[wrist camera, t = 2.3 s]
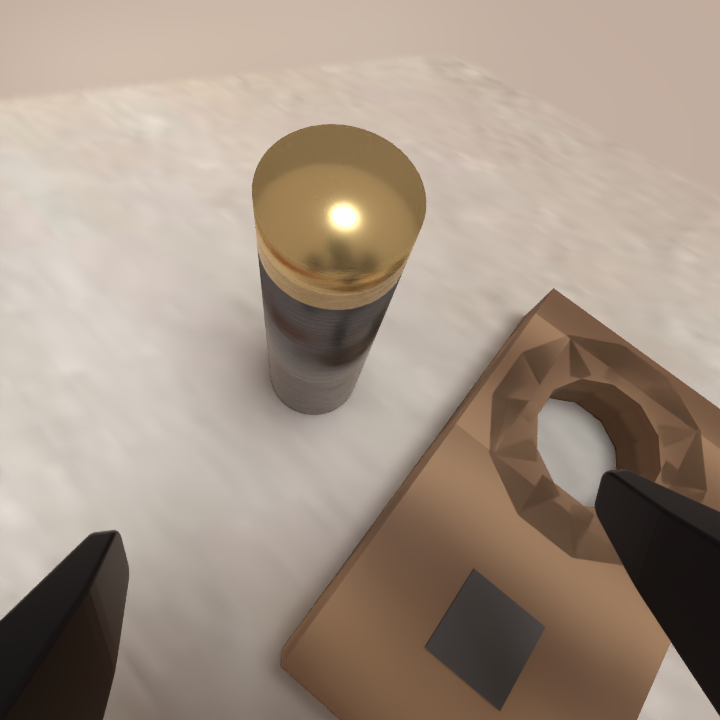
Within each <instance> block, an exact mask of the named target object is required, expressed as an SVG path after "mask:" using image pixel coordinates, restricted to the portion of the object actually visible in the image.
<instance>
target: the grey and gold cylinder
mask: <svg viewBox="0 0 720 720" xmlns="http://www.w3.org/2000/svg"><path fill="white" fill-rule="evenodd" d="M252 198H253V208H254V218H255V228H256V238H257V248H258V257H259V267H260V277H261V287H262V297H263V307H264V316H265V326H266V336H267V346H268V356H269V366H270V376H271V382H272V386H273V388H274V391H275V392H276V394H277V396H278V397H279V398H280V400H281V401H282V402H283V403H284V404H285V405H287V406H288V407H290V408H291V409H293V410H295V411H298V412H300V413H304V414H311V415H316V414H324V413H327V412H330V411H333V410H335V409H336V408H338V407H340V406H341V405H342V404H343V403H344V402H345V401H346V400H347V399H348V398H349V396H350V395H351V393H352V391H353V389H354V387H355V384H356V382H357V379H358V377H359V375H360V372H361V370H362V368H363V365H364V363H365V360H366V358H367V356H368V353H369V351H370V349H371V346H372V344H373V341H374V339H375V337H376V334H377V332H378V329H379V327H380V325H381V322H382V320H383V318H384V315H385V313H386V310H387V308H388V306H389V303H390V301H391V298H392V296H393V294H394V291H395V289H396V287H397V284H398V282H399V279H400V277H401V275H402V272H403V270H404V268H405V265H406V263H407V260H408V258H409V256H410V253H411V251H412V248H413V246H414V244H415V241H416V239H417V237H418V234H419V232H420V229H421V227H422V224H423V221H424V218H425V213H426V195H425V189H424V186H423V182H422V180H421V178H420V175H419V173H418V171H417V170H416V168H415V166H414V165H413V164H412V162H411V161H410V160H409V159H408V157H407V156H406V155H405V154H404V153H403V152H402V151H401V150H400V149H398V148H397V147H396V146H395V145H393V144H392V143H391V142H389V141H387V140H386V139H384V138H382V137H380V136H378V135H376V134H374V133H372V132H369V131H367V130H364V129H360V128H357V127H352V126H346V125H335V124H328V125H317V126H311V127H307V128H303V129H300V130H297V131H295V132H292V133H290V134H288V135H287V136H285V137H283V138H281V139H280V140H279V141H277V142H276V143H275V144H274V145H273V146H272V147H271V148H269V149H268V150H267V152H266V153H265V154H264V156H263V157H262V158H261V160H260V162H259V164H258V166H257V168H256V171H255V174H254V178H253V183H252Z"/></svg>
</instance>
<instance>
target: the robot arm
mask: <svg viewBox="0 0 720 720" xmlns="http://www.w3.org/2000/svg"><path fill="white" fill-rule="evenodd" d="M595 511H596V515H597V517H598V519H599V521H600V523H601V525H602V527H603V528H604V530H605V532H606V534H607V536H608V538H609V540H610V542H611V544H612V545H613V547H614V549H615V551H616V553H617V555H618V557H619V559H620V560H621V562H622V564H623V566H624V568H625V570H626V572H627V574H628V575H629V577H630V579H631V581H632V582H633V584H634V586H635V588H636V589H637V591H638V592H639V594H640V596H641V597H642V599H643V600H644V602H645V603H646V605H647V606H648V608H649V609H650V611H651V612H652V614H653V616H654V617H655V619H656V620H657V622H658V623H659V625H660V626H661V628H662V629H663V631H664V632H665V634H666V635H667V637H668V638H669V640H670V641H671V643H672V644H673V646H674V647H675V649H676V650H677V652H678V654H679V655H680V657H681V658H682V660H683V661H684V663H685V664H686V666H687V667H688V669H689V670H690V672H691V673H692V675H693V676H694V678H695V679H696V681H697V682H698V684H699V685H700V687H701V688H702V690H703V692H704V693H705V695H706V696H707V698H708V699H709V701H710V702H711V704H712V705H713V707H714V708H715V710H716V711H717V713H718V714H719V716H720V512H719V511H717V510H715V509H713V508H710V507H708V506H706V505H704V504H702V503H699V502H697V501H695V500H693V499H691V498H688V497H686V496H684V495H682V494H680V493H677V492H675V491H673V490H671V489H669V488H666V487H664V486H662V485H660V484H657V483H655V482H653V481H651V480H649V479H646V478H644V477H642V476H640V475H638V474H635V473H633V472H631V471H629V470H625V469H621V470H612V471H607V472H605V473H604V474H603V476H602V478H601V482H600V486H599V489H598V493H597V497H596V501H595ZM128 581H129V566H128V561H127V557H126V553H125V550H124V546H123V542H122V538H121V535H120V533H119V532H118V531H116V530H110V531H101V532H95V533H92V534H90V535H89V536H88V537H86V538H85V539H84V540H83V541H82V542H81V543H80V544H79V545H78V546H77V547H76V548H75V549H74V550H73V551H72V552H71V553H70V554H69V555H68V556H67V557H66V558H65V559H64V560H63V561H62V562H61V563H60V564H58V565H57V566H56V567H55V568H54V569H53V570H52V571H51V572H50V573H49V574H48V575H47V576H46V577H45V578H44V579H43V580H42V581H41V582H40V583H39V584H38V585H37V586H36V587H35V588H34V589H33V590H32V591H30V592H29V593H28V594H27V595H26V596H25V597H24V598H23V599H22V600H21V601H20V602H19V603H18V604H17V605H16V606H15V607H14V608H13V609H12V610H11V611H10V612H9V613H8V614H7V615H6V616H5V617H4V618H3V619H1V620H0V720H103V717H104V713H105V710H106V706H107V702H108V698H109V694H110V690H111V686H112V682H113V678H114V674H115V668H116V662H117V656H118V650H119V643H120V636H121V629H122V622H123V616H124V609H125V602H126V595H127V588H128Z"/></svg>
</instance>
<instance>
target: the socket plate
mask: <svg viewBox="0 0 720 720" xmlns="http://www.w3.org/2000/svg"><path fill="white" fill-rule="evenodd" d="M548 398H554V399H560V400H565V401H571V402H577V403H578V404H579V405H581V406H582V407H583V408H585V409H586V410H587V411H589V412H590V413H591V414H593V415H594V416H595V417H596V418H598V419H599V420H600V421H601V422H602V424H603V425H604V427H605V429H606V431H607V433H608V435H609V436H610V438H611V440H612V442H613V444H614V446H615V448H616V458H617V470H621V469H625V470H629V471H631V472H633V473H635V474H638V475H640V476H642V477H644V478H646V479H649V480H651V481H653V482H655V483H657V484H660V485H662V486H664V487H666V488H669V489H671V490H673V491H675V492H677V493H680V494H682V495H684V496H686V497H688V498H691V499H693V500H695V501H697V502H699V503H702V504H704V505H706V506H708V507H710V508H713V509H715V510H717V511H719V512H720V409H719V408H718V407H716V406H715V405H714V404H712V403H711V402H709V401H708V400H707V399H705V398H704V397H703V396H701V395H700V394H698V393H697V392H696V391H694V390H693V389H692V388H690V387H689V386H687V385H686V384H685V383H683V382H682V381H681V380H679V379H678V378H676V377H675V376H674V375H672V374H671V373H670V372H668V371H667V370H665V369H664V368H663V367H661V366H660V365H659V364H657V363H656V362H654V361H653V360H652V359H650V358H649V357H648V356H646V355H645V354H643V353H642V352H641V351H639V350H638V349H637V348H635V347H634V346H632V345H631V344H630V343H628V342H627V341H625V340H624V339H623V338H621V337H620V336H619V335H617V334H616V333H614V332H613V331H612V330H610V329H609V328H608V327H606V326H605V325H603V324H602V323H601V322H599V321H598V320H597V319H595V318H594V317H592V316H591V315H590V314H588V313H587V312H586V311H584V310H583V309H581V308H580V307H579V306H577V305H576V304H575V303H573V302H572V301H570V300H569V299H568V298H566V297H565V296H564V295H562V294H561V293H559V292H558V291H557V290H555V289H554V288H553V289H552V290H551V291H550V292H549V293H548V294H547V295H546V296H545V297H544V298H543V299H542V300H541V301H540V302H539V303H538V304H537V305H536V306H535V307H534V308H533V309H532V310H531V311H530V312H529V313H528V314H527V315H526V316H525V317H524V318H523V320H522V321H521V322H520V324H519V325H518V326H517V328H516V329H515V331H514V332H513V333H512V335H511V336H510V337H509V339H508V340H507V342H506V343H505V344H504V346H503V347H502V348H501V350H500V351H499V353H498V354H497V355H496V357H495V358H494V359H493V361H492V362H491V363H490V365H489V366H488V368H487V369H486V370H485V372H484V373H483V374H482V376H481V377H480V379H479V380H478V381H477V383H476V384H475V385H474V387H473V388H472V390H471V391H470V392H469V394H468V395H467V396H466V398H465V399H464V400H463V402H462V403H461V405H460V406H459V407H458V409H457V410H456V411H455V413H454V414H453V416H452V417H451V418H450V420H449V421H448V422H447V424H446V425H445V426H444V428H443V429H442V431H441V432H440V433H439V435H438V436H437V437H436V439H435V440H434V442H433V443H432V444H431V446H430V447H429V448H428V450H427V451H426V453H425V454H424V455H423V457H422V458H421V459H420V461H419V462H418V463H417V465H416V466H415V468H414V469H413V470H412V472H411V473H410V474H409V476H408V477H407V479H406V480H405V481H404V483H403V484H402V485H401V487H400V488H399V489H398V491H397V492H396V494H395V495H394V496H393V498H392V499H391V500H390V502H389V503H388V505H387V506H386V507H385V509H384V510H383V511H382V513H381V514H380V516H379V517H378V518H377V520H376V521H375V522H374V524H373V525H372V526H371V528H370V529H369V531H368V532H367V533H366V535H365V536H364V537H363V539H362V540H361V542H360V543H359V544H358V546H357V547H356V548H355V550H354V551H353V553H352V554H351V555H350V557H349V558H348V559H347V561H346V562H345V563H344V565H343V566H342V568H341V569H340V570H339V572H338V573H337V574H336V576H335V577H334V579H333V580H332V581H331V583H330V584H329V585H328V587H327V588H326V589H325V591H324V592H323V594H322V595H321V596H320V598H319V599H318V600H317V602H316V603H315V605H314V606H313V607H312V609H311V610H310V611H309V613H308V614H307V616H306V617H305V618H304V620H303V621H302V622H301V624H300V625H299V626H298V628H297V629H296V631H295V632H294V633H293V635H292V636H291V637H290V639H289V640H288V642H287V643H286V644H285V646H284V647H283V648H282V655H281V667H282V668H283V669H284V670H285V671H286V672H288V673H289V674H290V675H291V676H292V677H293V678H294V679H295V680H297V681H298V682H299V683H300V684H301V685H302V686H303V687H304V688H305V689H307V690H308V691H309V692H310V693H311V694H312V695H313V696H314V697H316V698H317V699H318V700H319V701H320V702H321V703H322V704H323V705H324V706H326V707H327V708H328V709H329V710H330V711H331V712H332V713H333V714H334V715H336V716H337V717H338V718H339V719H340V720H637V718H638V716H639V713H640V711H641V709H642V707H643V704H644V702H645V700H646V698H647V695H648V693H649V691H650V688H651V686H652V684H653V682H654V679H655V677H656V675H657V673H658V670H659V668H660V666H661V663H662V661H663V659H664V657H665V654H666V652H667V650H668V648H669V645H670V643H671V641H670V640H669V638H668V637H667V635H666V634H665V632H664V631H663V629H662V628H661V626H660V625H659V623H658V622H657V620H656V619H655V617H654V616H653V614H652V612H651V611H650V609H649V608H648V606H647V605H646V603H645V602H644V600H643V599H642V597H641V596H640V594H639V592H638V591H637V589H636V588H635V586H634V584H633V582H632V581H631V579H630V577H629V575H628V574H627V572H626V570H625V568H624V566H623V564H622V562H621V560H620V559H619V557H618V555H617V553H616V551H615V549H614V547H613V545H612V544H611V542H610V540H609V538H608V536H607V534H606V532H605V530H604V528H603V527H602V525H601V523H600V521H599V519H598V517H597V515H596V511H595V508H592V507H586V506H583V505H582V504H580V503H579V502H578V501H577V500H575V499H574V498H573V497H572V496H570V495H569V494H568V493H566V492H565V491H564V490H563V489H561V488H560V487H559V486H557V485H556V484H555V483H554V482H553V480H552V478H551V476H550V474H549V472H548V470H547V468H546V466H545V464H544V462H543V460H542V458H541V456H540V454H539V452H538V450H537V415H538V413H539V412H540V410H541V409H542V407H543V406H544V404H545V403H546V401H547V399H548Z"/></svg>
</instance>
